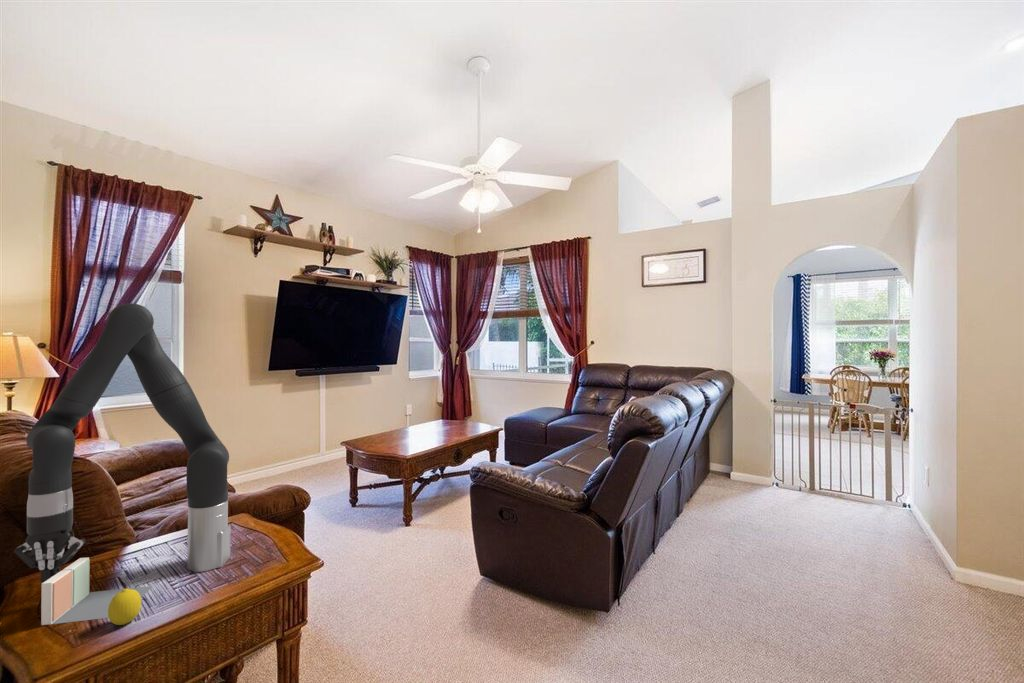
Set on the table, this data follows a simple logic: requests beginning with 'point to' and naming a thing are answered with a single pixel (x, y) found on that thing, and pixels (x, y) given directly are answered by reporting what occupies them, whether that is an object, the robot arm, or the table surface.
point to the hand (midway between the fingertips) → (50, 583)
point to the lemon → (124, 607)
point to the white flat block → (79, 579)
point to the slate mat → (94, 606)
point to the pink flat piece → (56, 597)
